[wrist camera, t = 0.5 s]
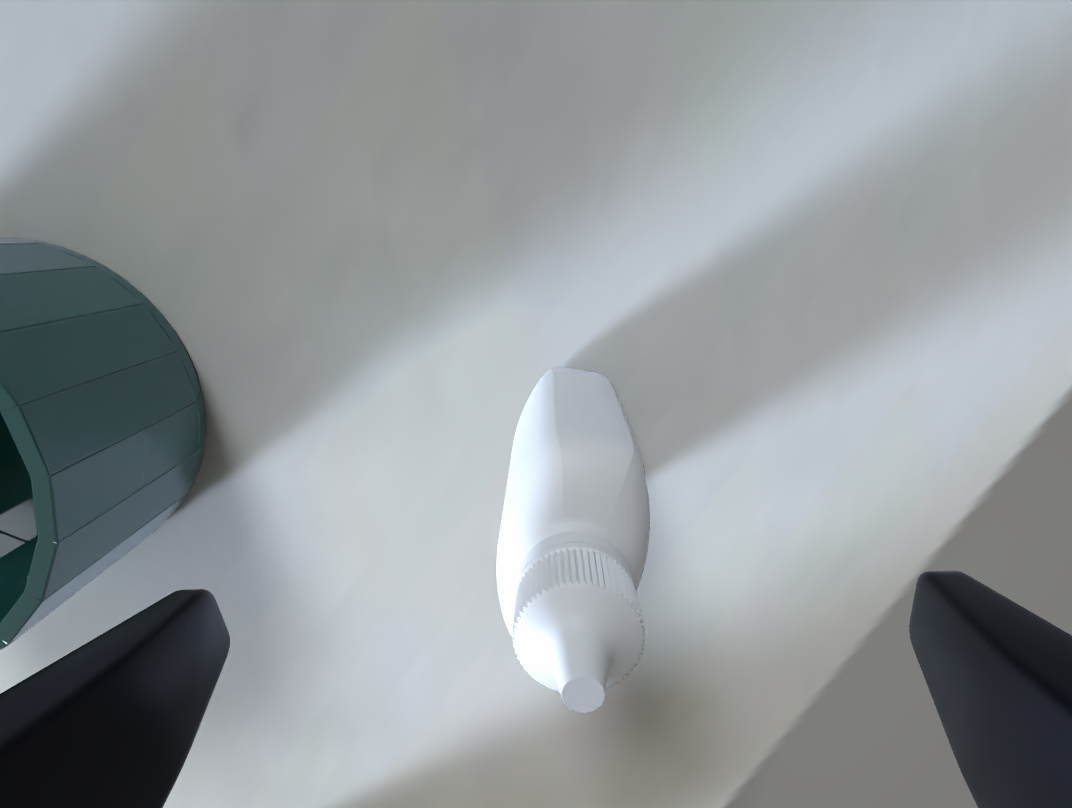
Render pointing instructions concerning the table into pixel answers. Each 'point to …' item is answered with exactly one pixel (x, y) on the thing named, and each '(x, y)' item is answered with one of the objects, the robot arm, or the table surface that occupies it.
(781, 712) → the table surface
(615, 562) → the eye dropper bottle
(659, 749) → the table surface
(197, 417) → the canister
